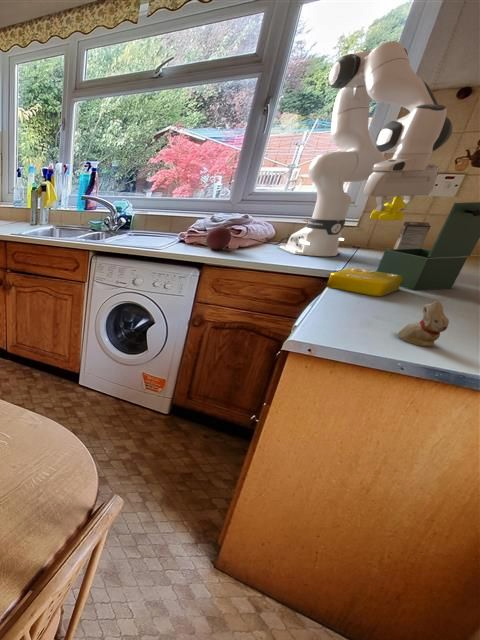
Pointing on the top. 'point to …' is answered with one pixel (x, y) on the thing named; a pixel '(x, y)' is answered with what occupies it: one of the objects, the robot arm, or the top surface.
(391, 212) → the yellow lumpy shape
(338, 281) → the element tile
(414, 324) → the chocolate bunny
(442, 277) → the green hinged box
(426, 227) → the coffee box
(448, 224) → the lid
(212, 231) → the decorative ball
